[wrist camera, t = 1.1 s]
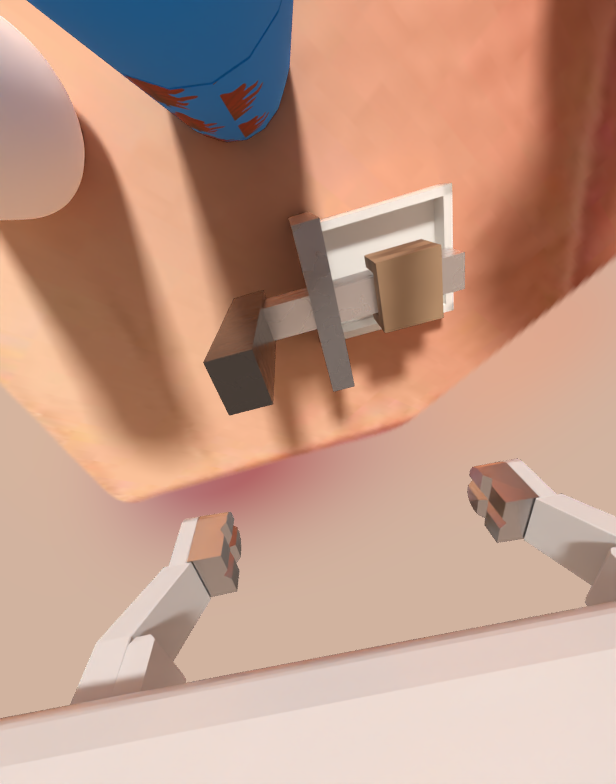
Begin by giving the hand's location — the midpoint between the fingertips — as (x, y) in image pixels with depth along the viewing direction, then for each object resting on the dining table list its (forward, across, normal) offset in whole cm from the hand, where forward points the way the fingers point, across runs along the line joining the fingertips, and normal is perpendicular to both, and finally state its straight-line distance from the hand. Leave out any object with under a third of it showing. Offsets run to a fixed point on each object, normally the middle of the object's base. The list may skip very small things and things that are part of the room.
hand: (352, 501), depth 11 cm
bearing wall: (+29, -2, -2) cm, 29 cm away
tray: (+29, -10, -3) cm, 30 cm away
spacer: (+22, -9, -2) cm, 24 cm away
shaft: (+24, -4, -2) cm, 24 cm away
